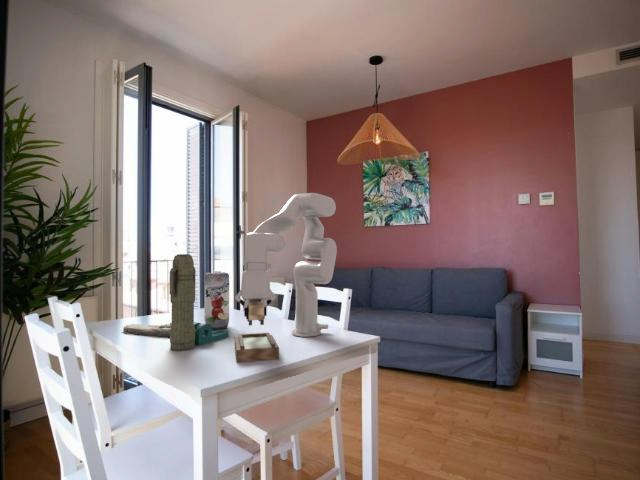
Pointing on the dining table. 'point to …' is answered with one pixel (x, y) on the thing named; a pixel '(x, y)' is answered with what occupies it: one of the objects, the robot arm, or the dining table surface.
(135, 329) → the long grey stone
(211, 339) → the bracket
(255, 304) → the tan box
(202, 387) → the dining table surface
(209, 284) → the juice carton
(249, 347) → the dock
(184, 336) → the thermos
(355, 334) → the dining table surface
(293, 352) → the dining table surface
